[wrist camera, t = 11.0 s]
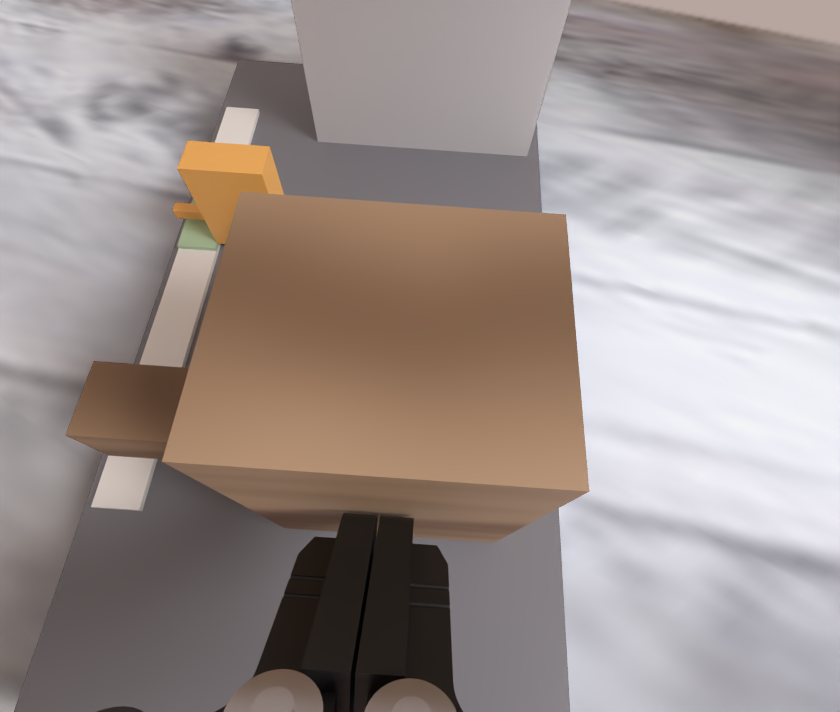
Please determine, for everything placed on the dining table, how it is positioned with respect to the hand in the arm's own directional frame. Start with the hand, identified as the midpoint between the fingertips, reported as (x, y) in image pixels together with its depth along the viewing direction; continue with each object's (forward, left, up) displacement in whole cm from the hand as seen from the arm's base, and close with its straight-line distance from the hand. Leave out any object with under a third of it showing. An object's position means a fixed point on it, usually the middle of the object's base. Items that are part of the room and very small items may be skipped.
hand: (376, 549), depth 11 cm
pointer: (+4, -12, -4) cm, 13 cm away
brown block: (+1, -4, -4) cm, 5 cm away
